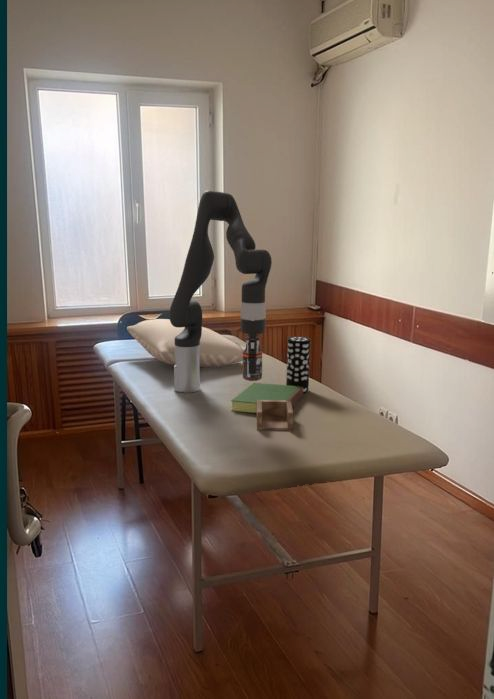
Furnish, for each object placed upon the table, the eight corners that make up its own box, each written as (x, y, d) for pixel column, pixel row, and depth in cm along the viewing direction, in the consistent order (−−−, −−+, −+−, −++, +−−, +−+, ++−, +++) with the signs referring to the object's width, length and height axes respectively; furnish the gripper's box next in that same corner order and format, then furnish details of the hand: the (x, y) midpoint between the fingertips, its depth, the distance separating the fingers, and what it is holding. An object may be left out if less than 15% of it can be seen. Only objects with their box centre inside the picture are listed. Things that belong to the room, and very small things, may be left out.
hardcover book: (285, 416, 200) (285, 405, 199) (231, 411, 206) (231, 400, 205) (303, 395, 223) (303, 386, 222) (254, 391, 229) (254, 382, 228)
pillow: (157, 377, 237) (254, 379, 260) (164, 332, 233) (261, 337, 256) (121, 349, 274) (209, 352, 296) (126, 309, 270) (215, 315, 293)
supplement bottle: (242, 376, 191) (242, 340, 189) (261, 376, 192) (261, 340, 189) (243, 381, 185) (243, 345, 183) (262, 381, 186) (263, 344, 183)
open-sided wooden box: (256, 429, 189) (257, 412, 188) (256, 416, 201) (256, 399, 199) (292, 430, 189) (293, 412, 188) (290, 417, 201) (290, 400, 199)
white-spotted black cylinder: (307, 395, 224) (309, 342, 220) (284, 393, 226) (286, 340, 221) (309, 388, 232) (311, 337, 227) (287, 387, 234) (289, 336, 229)
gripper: (241, 312, 191) (241, 364, 195) (239, 320, 177) (239, 376, 181) (265, 313, 191) (264, 365, 195) (265, 321, 177) (264, 377, 181)
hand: (252, 370), depth 188 cm, fingers closed on supplement bottle, 6 cm apart
